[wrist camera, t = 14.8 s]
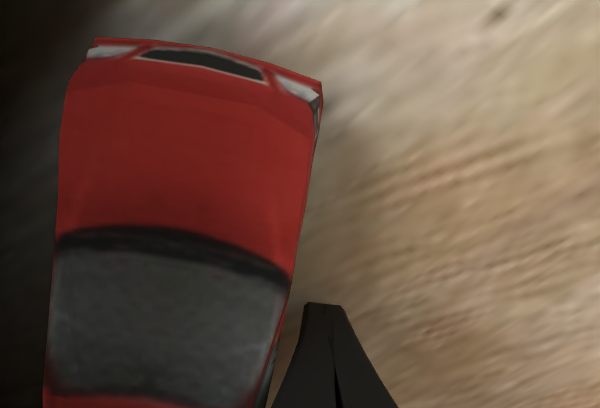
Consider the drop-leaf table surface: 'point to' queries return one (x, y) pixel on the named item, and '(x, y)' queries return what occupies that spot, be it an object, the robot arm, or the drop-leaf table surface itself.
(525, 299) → the drop-leaf table surface
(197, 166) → the toy car
